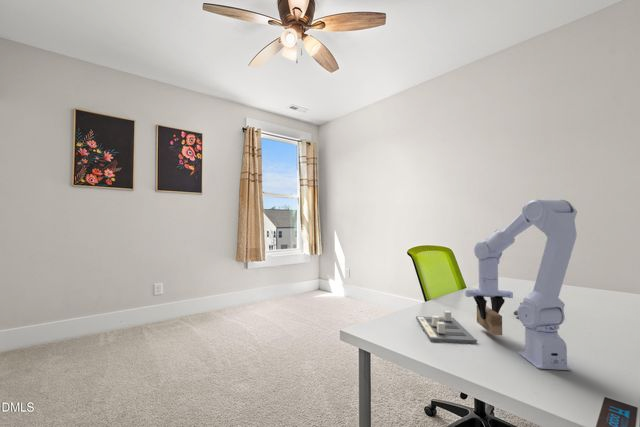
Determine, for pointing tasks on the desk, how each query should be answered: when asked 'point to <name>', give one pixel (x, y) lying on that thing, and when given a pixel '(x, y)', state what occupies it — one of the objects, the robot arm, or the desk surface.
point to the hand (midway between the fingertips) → (488, 318)
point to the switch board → (452, 331)
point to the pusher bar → (491, 321)
